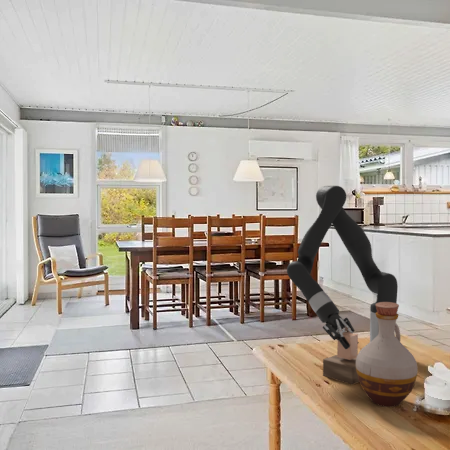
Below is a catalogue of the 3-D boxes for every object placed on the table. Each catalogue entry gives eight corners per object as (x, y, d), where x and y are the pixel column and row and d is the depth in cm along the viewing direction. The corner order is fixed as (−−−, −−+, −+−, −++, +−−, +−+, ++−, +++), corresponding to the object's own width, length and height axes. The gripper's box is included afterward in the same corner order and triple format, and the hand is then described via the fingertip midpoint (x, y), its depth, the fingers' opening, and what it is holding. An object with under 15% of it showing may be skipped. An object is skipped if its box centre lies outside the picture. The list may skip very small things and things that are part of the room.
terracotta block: (344, 353, 172) (345, 331, 172) (357, 356, 169) (357, 334, 169) (337, 356, 169) (337, 334, 169) (350, 360, 165) (350, 336, 165)
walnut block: (342, 368, 178) (343, 352, 177) (371, 377, 169) (372, 360, 168) (323, 376, 170) (323, 359, 169) (352, 385, 161) (352, 367, 160)
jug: (371, 385, 160) (372, 295, 159) (426, 398, 149) (428, 302, 148) (345, 403, 145) (346, 304, 144) (404, 419, 134) (406, 312, 133)
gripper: (318, 303, 169) (348, 344, 160) (340, 298, 179) (369, 336, 171) (306, 315, 172) (334, 356, 164) (328, 310, 183) (356, 348, 174)
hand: (352, 346), depth 168 cm, fingers closed on terracotta block, 5 cm apart
